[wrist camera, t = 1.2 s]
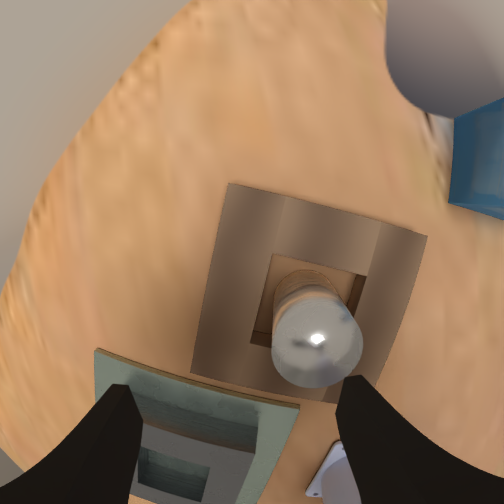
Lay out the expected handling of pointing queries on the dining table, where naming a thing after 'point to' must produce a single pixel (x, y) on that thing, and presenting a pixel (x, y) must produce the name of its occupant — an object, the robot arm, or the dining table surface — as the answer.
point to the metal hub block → (198, 435)
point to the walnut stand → (310, 250)
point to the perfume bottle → (479, 160)
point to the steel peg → (313, 332)
